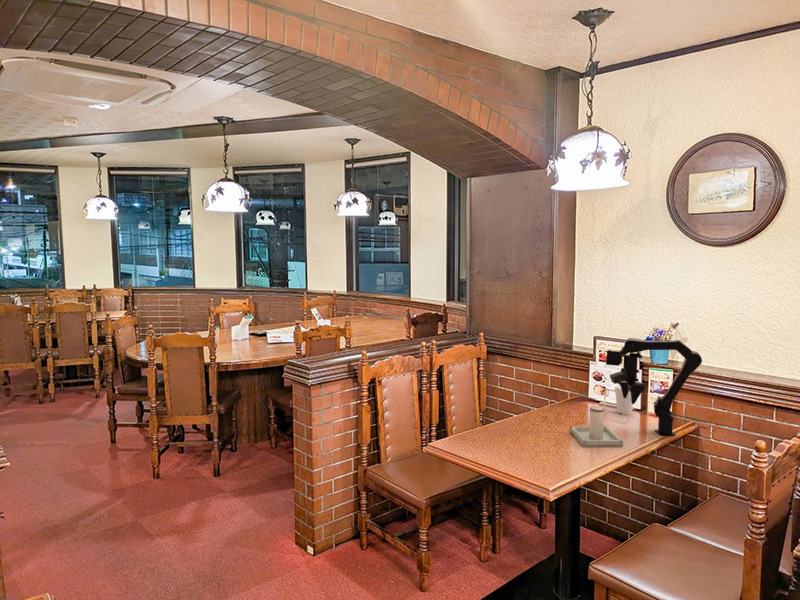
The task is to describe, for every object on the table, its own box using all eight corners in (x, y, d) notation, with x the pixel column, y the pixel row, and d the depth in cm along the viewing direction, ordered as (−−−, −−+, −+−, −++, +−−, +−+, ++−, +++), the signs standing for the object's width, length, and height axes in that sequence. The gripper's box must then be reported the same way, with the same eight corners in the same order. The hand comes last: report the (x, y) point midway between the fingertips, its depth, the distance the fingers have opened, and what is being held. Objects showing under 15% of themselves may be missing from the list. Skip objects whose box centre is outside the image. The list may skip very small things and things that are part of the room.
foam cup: (614, 414, 274) (615, 388, 272) (613, 409, 283) (614, 383, 281) (635, 416, 271) (636, 390, 270) (633, 410, 280) (634, 385, 278)
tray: (622, 446, 231) (622, 440, 231) (583, 446, 231) (584, 441, 231) (606, 431, 249) (606, 426, 249) (570, 432, 249) (570, 426, 249)
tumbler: (605, 438, 239) (607, 408, 237) (596, 440, 236) (597, 410, 235) (595, 434, 244) (596, 405, 242) (586, 436, 241) (587, 407, 240)
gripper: (604, 362, 259) (603, 395, 261) (620, 371, 241) (619, 407, 242) (628, 362, 259) (627, 395, 261) (646, 371, 241) (644, 407, 242)
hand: (628, 400), depth 252 cm, fingers open, 9 cm apart
